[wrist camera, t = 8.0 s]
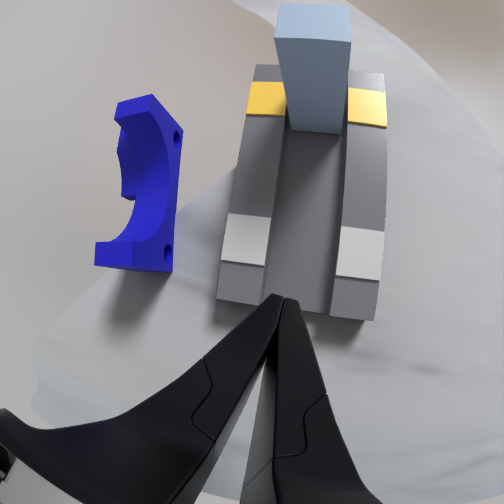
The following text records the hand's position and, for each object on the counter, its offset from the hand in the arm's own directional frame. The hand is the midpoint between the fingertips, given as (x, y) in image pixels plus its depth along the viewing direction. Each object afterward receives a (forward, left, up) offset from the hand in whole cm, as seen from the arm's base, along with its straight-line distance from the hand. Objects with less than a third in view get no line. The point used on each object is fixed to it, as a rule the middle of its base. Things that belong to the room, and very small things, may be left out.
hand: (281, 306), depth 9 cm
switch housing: (+8, 0, -12) cm, 15 cm away
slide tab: (+13, 0, -11) cm, 17 cm away
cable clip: (+6, +13, -13) cm, 19 cm away
